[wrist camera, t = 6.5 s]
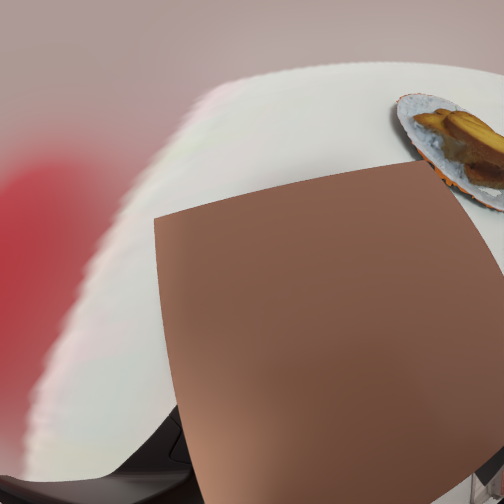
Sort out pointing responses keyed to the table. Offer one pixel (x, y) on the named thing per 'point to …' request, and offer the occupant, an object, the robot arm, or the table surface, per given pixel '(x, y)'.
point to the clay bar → (334, 340)
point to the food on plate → (455, 145)
